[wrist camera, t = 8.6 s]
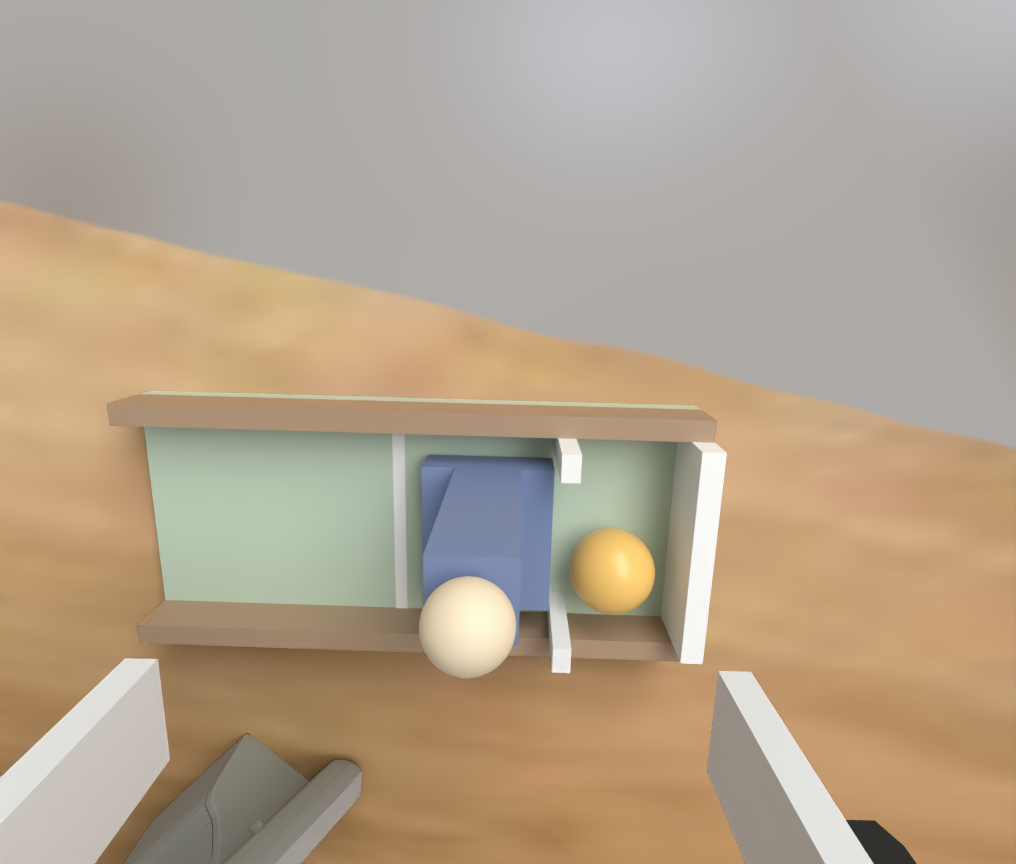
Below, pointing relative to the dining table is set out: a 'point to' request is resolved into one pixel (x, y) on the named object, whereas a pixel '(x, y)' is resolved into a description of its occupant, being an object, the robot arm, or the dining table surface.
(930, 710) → the dining table surface
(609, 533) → the ball
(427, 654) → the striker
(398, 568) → the pitch
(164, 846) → the digital clock
